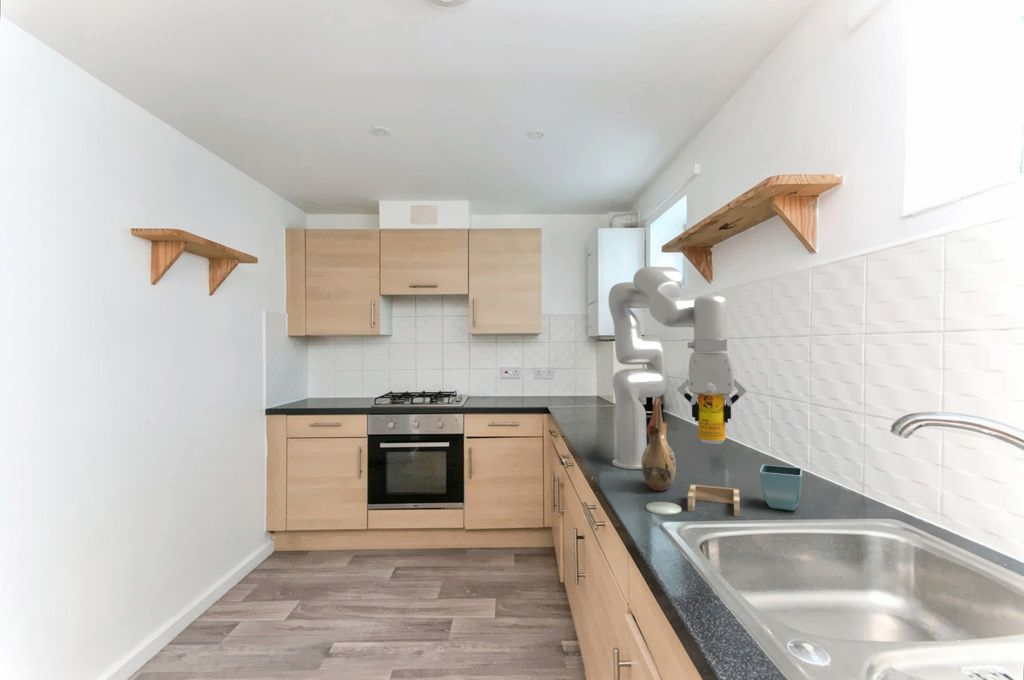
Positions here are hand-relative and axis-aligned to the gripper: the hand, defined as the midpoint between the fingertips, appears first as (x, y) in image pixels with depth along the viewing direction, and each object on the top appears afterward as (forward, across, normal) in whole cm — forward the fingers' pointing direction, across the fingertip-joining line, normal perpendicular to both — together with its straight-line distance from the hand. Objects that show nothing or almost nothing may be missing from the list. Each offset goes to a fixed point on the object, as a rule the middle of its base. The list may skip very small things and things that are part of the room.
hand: (711, 420), depth 121 cm
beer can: (+5, 0, 0) cm, 5 cm away
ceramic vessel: (+21, -14, +11) cm, 28 cm away
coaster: (+21, -11, -6) cm, 24 cm away
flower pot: (+21, +15, +6) cm, 27 cm away
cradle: (+21, 0, 0) cm, 21 cm away
